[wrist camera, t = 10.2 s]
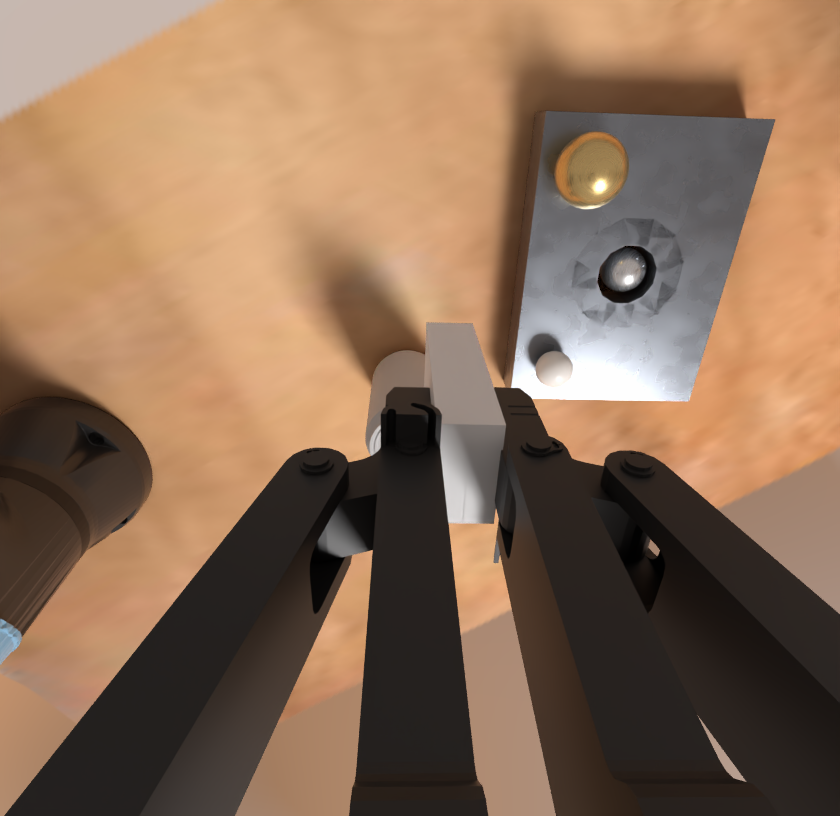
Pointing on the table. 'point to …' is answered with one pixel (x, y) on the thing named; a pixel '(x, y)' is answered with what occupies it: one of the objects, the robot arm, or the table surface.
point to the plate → (654, 239)
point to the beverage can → (387, 375)
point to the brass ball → (591, 170)
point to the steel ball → (623, 269)
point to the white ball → (554, 369)
